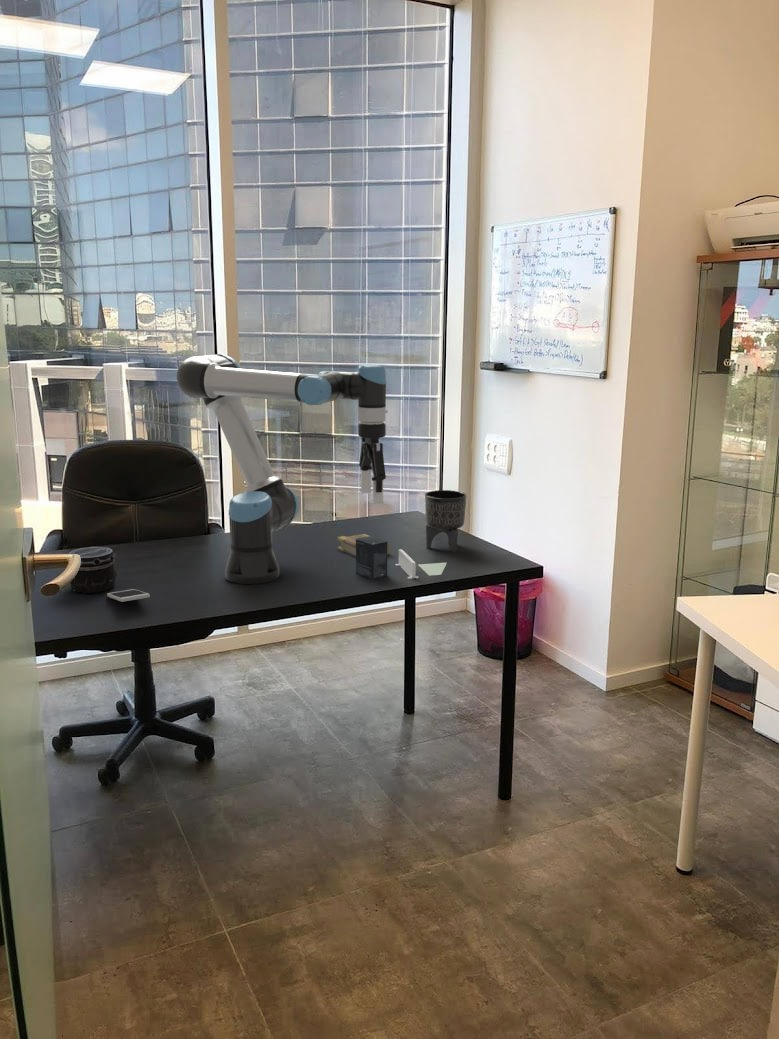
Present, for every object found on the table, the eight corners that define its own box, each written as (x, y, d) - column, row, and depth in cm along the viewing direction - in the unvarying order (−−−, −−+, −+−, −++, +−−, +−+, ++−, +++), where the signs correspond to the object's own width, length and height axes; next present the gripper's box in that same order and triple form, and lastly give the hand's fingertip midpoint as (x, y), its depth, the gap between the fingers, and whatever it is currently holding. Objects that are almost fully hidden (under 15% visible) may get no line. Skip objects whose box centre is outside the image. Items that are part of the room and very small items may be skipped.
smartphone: (121, 602, 214) (121, 598, 214) (106, 596, 227) (106, 592, 227) (150, 597, 217) (149, 593, 217) (134, 592, 231) (133, 588, 231)
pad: (429, 576, 245) (429, 575, 245) (417, 565, 255) (417, 564, 255) (459, 574, 247) (459, 573, 247) (446, 563, 258) (446, 562, 258)
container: (83, 578, 242) (80, 544, 239) (126, 581, 240) (123, 546, 237) (58, 592, 230) (55, 557, 227) (103, 595, 228) (101, 559, 225)
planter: (425, 554, 267) (426, 498, 263) (422, 543, 279) (423, 490, 275) (467, 554, 267) (468, 498, 263) (462, 543, 280) (463, 490, 276)
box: (387, 576, 245) (388, 540, 243) (372, 580, 242) (372, 544, 239) (370, 570, 251) (370, 535, 249) (355, 573, 248) (355, 538, 245)
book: (337, 550, 273) (336, 534, 272) (367, 545, 278) (367, 530, 277) (360, 561, 261) (360, 545, 260) (391, 556, 267) (391, 540, 265)
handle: (408, 580, 242) (408, 563, 241) (395, 565, 255) (395, 549, 254) (418, 579, 243) (419, 562, 242) (405, 565, 256) (405, 549, 255)
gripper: (397, 428, 225) (396, 507, 230) (374, 416, 249) (373, 488, 254) (369, 429, 223) (369, 508, 228) (348, 417, 247) (348, 489, 252)
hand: (371, 498), depth 241 cm, fingers open, 13 cm apart
